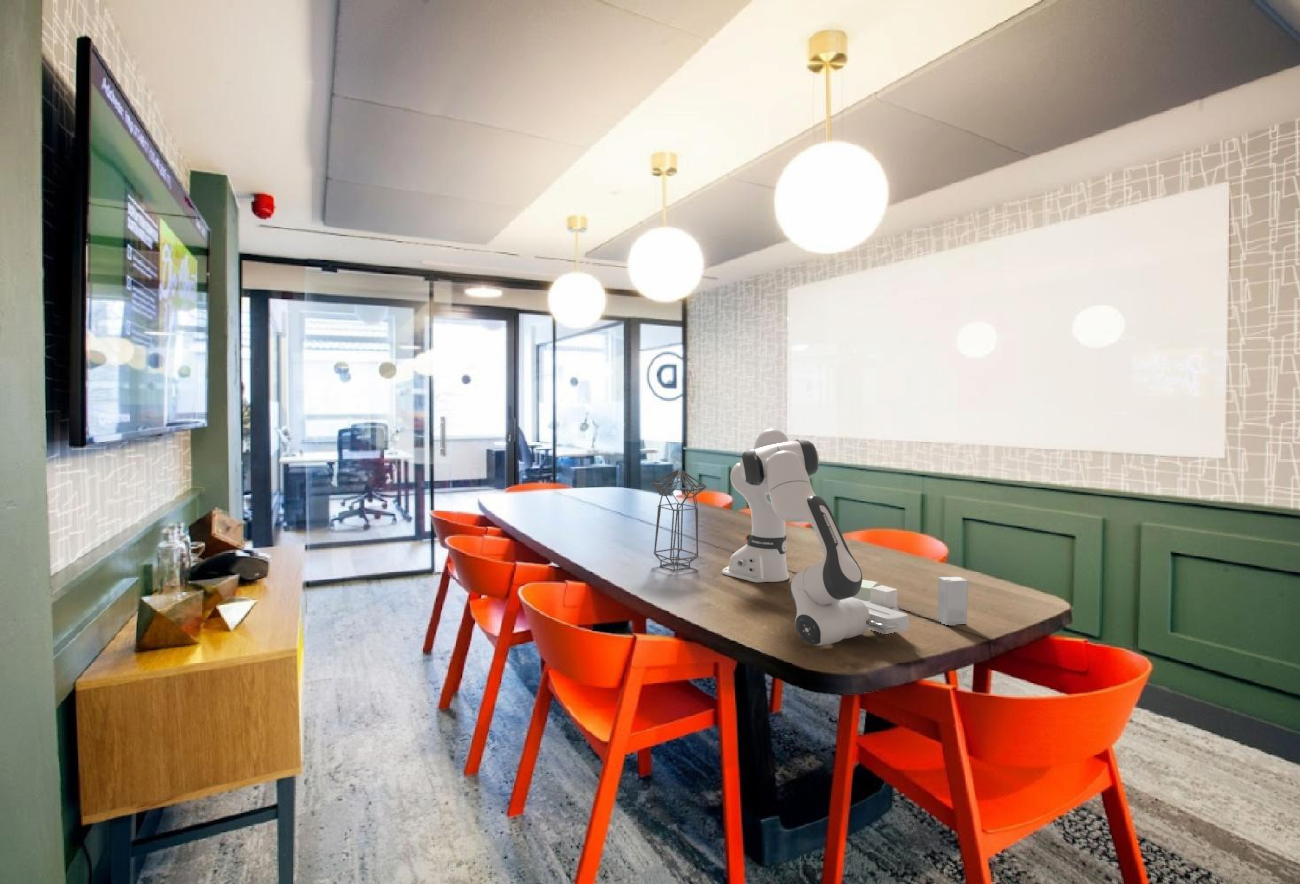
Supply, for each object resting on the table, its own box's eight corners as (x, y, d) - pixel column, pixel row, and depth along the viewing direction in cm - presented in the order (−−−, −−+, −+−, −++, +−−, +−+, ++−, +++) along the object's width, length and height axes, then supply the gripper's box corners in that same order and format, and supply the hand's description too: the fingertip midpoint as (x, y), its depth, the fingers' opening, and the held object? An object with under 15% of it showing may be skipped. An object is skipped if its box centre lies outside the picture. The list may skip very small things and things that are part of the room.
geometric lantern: (676, 559, 233) (680, 466, 231) (706, 569, 221) (710, 471, 219) (644, 565, 223) (647, 468, 221) (673, 576, 211) (677, 473, 209)
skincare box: (957, 620, 168) (959, 575, 168) (967, 626, 164) (969, 580, 163) (935, 620, 168) (937, 576, 167) (945, 626, 163) (946, 580, 162)
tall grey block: (885, 635, 156) (886, 592, 156) (870, 630, 160) (871, 587, 159) (896, 632, 159) (897, 589, 158) (881, 626, 162) (882, 585, 162)
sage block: (840, 597, 175) (841, 583, 175) (848, 591, 181) (849, 577, 181) (869, 603, 170) (870, 588, 170) (877, 596, 177) (877, 582, 177)
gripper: (889, 616, 143) (924, 605, 151) (818, 594, 160) (853, 585, 168) (888, 643, 143) (923, 631, 151) (818, 618, 160) (852, 608, 168)
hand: (885, 607), depth 160 cm, fingers closed on tall grey block, 4 cm apart
